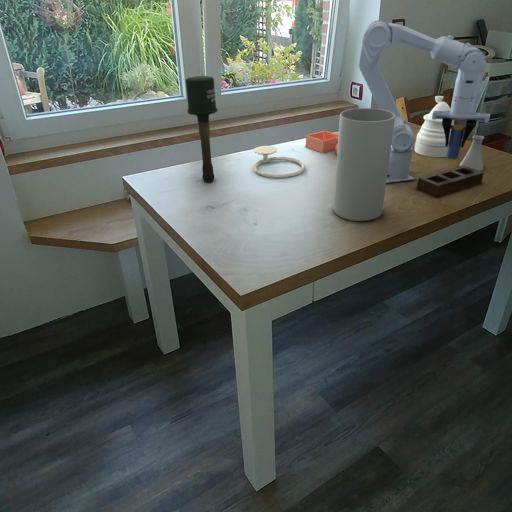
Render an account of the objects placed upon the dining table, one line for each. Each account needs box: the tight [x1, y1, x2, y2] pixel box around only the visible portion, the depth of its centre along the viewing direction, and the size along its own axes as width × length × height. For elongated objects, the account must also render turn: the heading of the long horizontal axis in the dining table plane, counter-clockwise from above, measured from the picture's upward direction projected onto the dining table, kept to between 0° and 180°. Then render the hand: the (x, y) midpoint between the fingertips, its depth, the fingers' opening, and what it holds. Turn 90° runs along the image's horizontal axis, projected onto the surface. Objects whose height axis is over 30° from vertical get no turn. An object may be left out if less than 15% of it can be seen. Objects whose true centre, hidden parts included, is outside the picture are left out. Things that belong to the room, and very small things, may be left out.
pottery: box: [305, 130, 339, 156], centre depth 155 cm, size 18×10×10 cm, turn 37°
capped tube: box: [445, 124, 466, 160], centre depth 125 cm, size 4×4×9 cm
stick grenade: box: [185, 75, 218, 183], centre depth 128 cm, size 8×9×30 cm
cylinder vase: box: [333, 107, 395, 222], centre depth 108 cm, size 12×12×25 cm
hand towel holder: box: [252, 145, 306, 179], centre depth 143 cm, size 17×4×21 cm
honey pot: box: [413, 95, 455, 158], centre depth 149 cm, size 13×13×18 cm
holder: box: [416, 165, 485, 199], centre depth 126 cm, size 7×18×4 cm, turn 119°
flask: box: [458, 135, 485, 172], centre depth 136 cm, size 7×7×10 cm
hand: (454, 145), depth 126 cm, fingers closed on capped tube, 3 cm apart
